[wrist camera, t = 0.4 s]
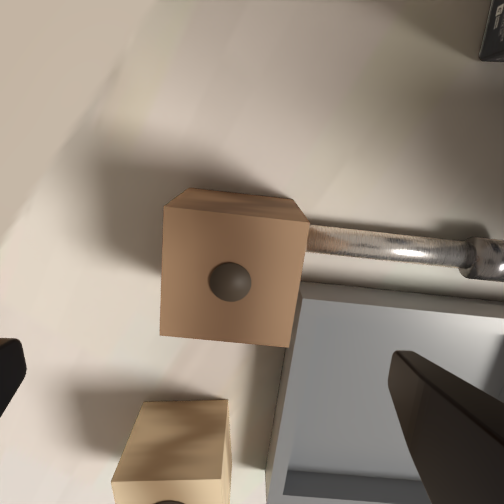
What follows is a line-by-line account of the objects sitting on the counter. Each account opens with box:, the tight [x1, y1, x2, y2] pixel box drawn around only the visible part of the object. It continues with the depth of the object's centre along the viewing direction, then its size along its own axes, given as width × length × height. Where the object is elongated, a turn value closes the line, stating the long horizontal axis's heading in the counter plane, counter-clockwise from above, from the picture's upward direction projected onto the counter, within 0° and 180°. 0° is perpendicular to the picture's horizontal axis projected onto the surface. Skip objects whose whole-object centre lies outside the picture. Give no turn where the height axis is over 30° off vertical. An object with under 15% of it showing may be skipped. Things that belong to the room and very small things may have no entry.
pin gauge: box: [305, 225, 504, 282], centre depth 19 cm, size 12×2×2 cm, turn 84°
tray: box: [265, 281, 504, 504], centre depth 23 cm, size 16×16×2 cm
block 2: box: [160, 188, 310, 348], centre depth 17 cm, size 6×6×6 cm
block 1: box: [111, 400, 232, 504], centre depth 22 cm, size 6×6×6 cm
